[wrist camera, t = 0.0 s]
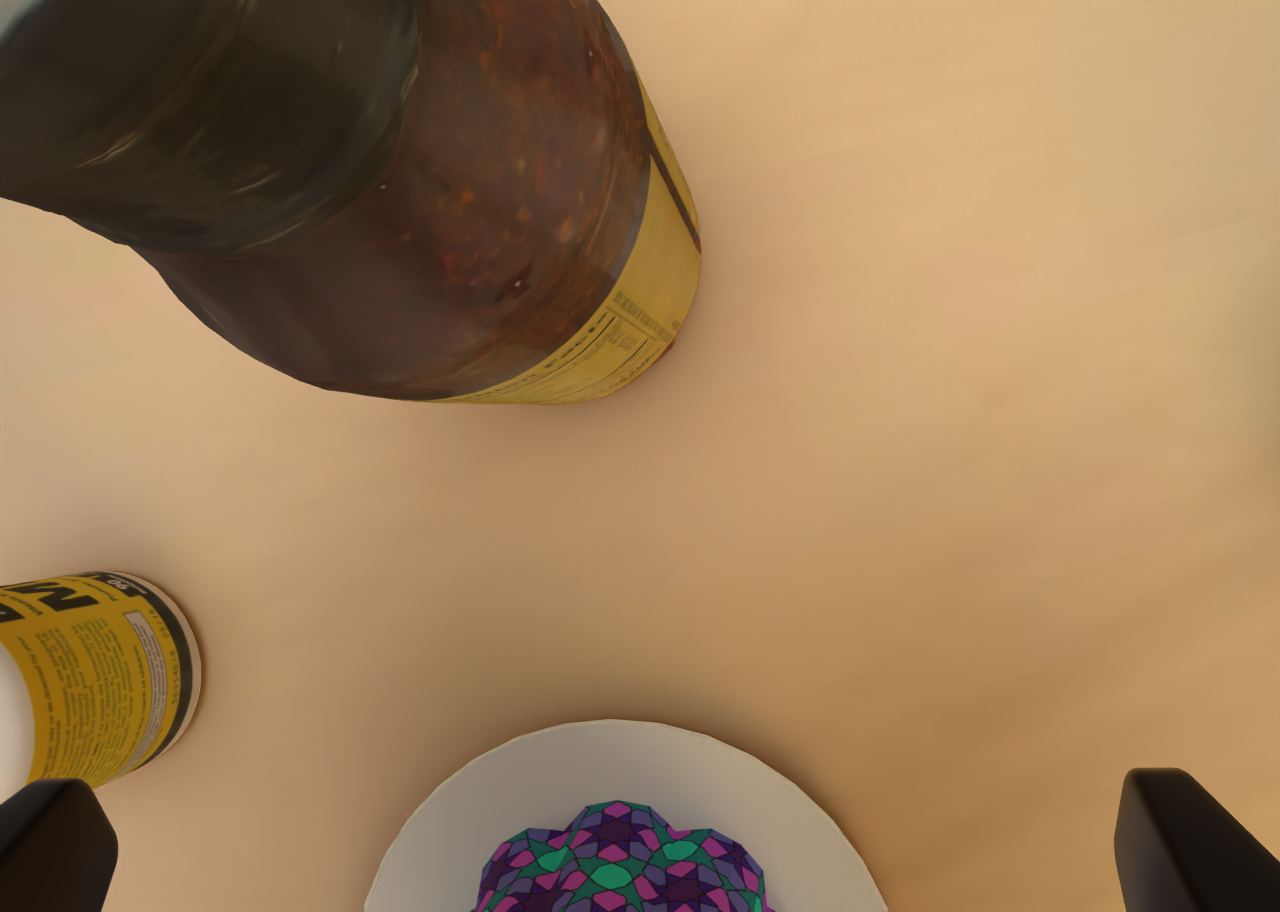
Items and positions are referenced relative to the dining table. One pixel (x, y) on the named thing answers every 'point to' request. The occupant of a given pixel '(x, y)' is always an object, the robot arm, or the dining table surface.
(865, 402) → the dining table surface
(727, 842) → the pudding
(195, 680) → the supplement bottle
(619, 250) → the sauce bottle
